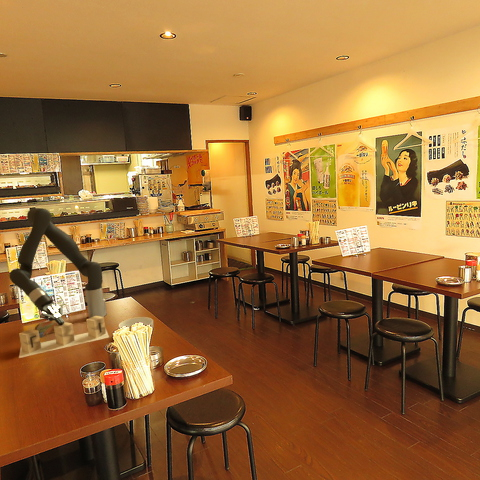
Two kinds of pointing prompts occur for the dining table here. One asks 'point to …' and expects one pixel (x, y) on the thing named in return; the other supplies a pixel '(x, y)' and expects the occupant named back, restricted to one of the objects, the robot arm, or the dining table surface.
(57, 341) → the plain block
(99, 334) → the marked block 1
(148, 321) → the cereal bowl
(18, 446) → the dining table surface
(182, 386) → the dining table surface
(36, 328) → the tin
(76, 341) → the board
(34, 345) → the marked block 7
